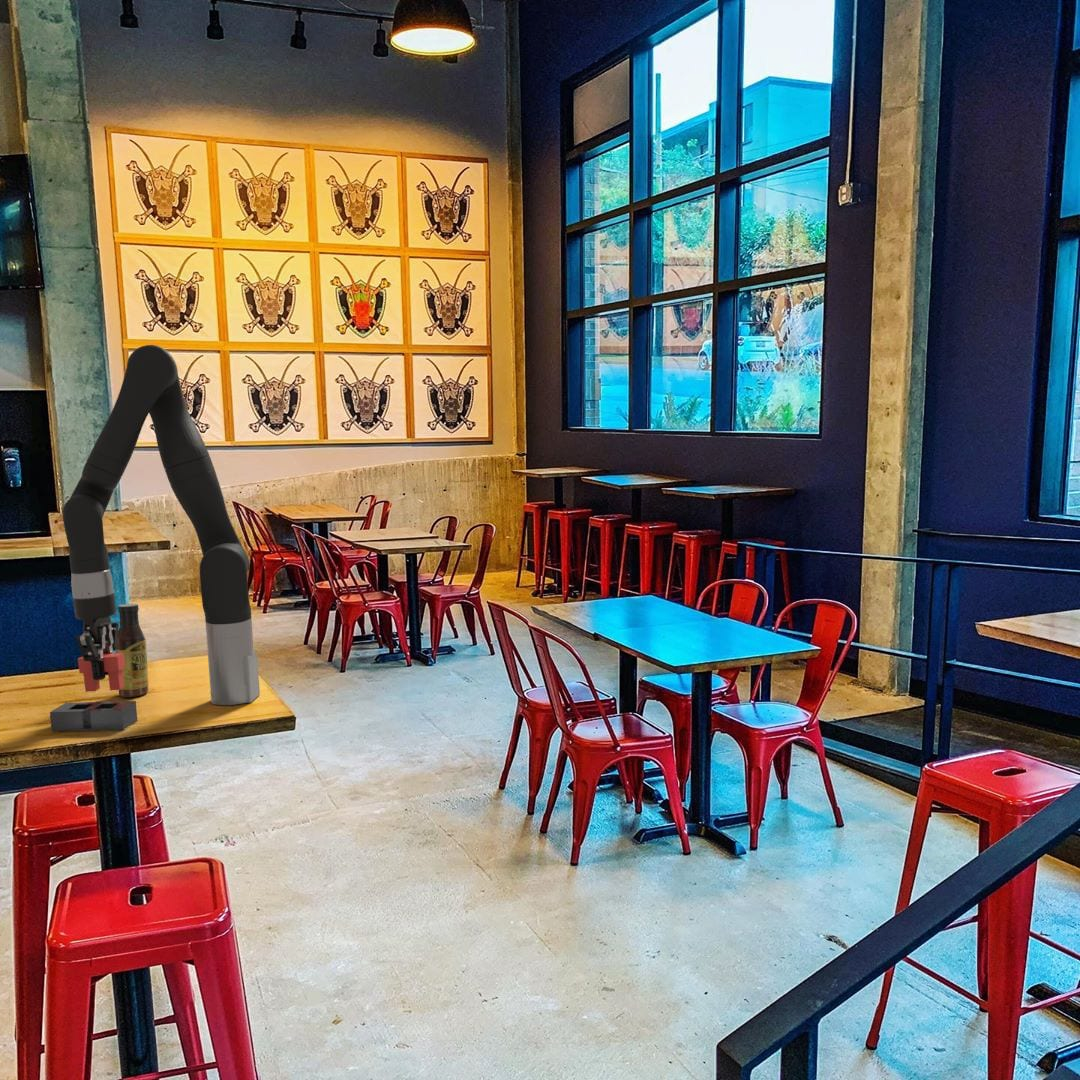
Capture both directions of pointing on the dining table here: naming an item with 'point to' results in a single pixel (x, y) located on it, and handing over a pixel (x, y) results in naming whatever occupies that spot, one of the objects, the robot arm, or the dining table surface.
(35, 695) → the dining table surface
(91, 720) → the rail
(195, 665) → the dining table surface
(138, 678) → the sauce bottle
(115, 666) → the red block
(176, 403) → the robot arm
